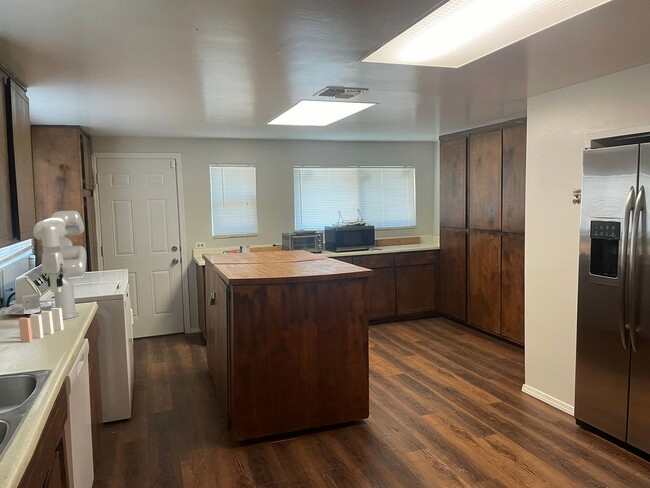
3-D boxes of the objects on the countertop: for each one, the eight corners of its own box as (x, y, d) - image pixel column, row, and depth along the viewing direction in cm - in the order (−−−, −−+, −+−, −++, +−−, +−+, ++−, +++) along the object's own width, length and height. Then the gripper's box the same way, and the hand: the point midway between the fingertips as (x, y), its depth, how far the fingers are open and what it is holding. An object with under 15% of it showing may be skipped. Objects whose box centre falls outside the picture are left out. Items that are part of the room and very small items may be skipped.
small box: (38, 311, 283) (36, 293, 282) (41, 312, 279) (39, 294, 278) (22, 314, 277) (20, 296, 276) (25, 315, 273) (23, 297, 272)
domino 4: (53, 291, 245) (51, 269, 244) (61, 291, 244) (59, 269, 242) (50, 291, 244) (48, 270, 242) (58, 292, 242) (56, 270, 241)
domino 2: (34, 336, 230) (32, 314, 229) (43, 337, 229) (41, 314, 228) (32, 337, 229) (29, 315, 228) (40, 338, 228) (38, 315, 226)
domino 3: (45, 332, 236) (43, 310, 235) (53, 333, 235) (51, 311, 234) (42, 333, 235) (40, 311, 234) (51, 334, 233) (48, 312, 232)
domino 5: (55, 329, 242) (53, 307, 241) (63, 329, 241) (61, 308, 240) (52, 330, 241) (50, 308, 239) (61, 330, 239) (58, 308, 238)
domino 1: (23, 340, 224) (21, 317, 223) (32, 341, 223) (30, 318, 222) (21, 341, 223) (18, 318, 222) (29, 342, 222) (27, 318, 220)
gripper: (32, 251, 240) (36, 287, 242) (59, 251, 235) (63, 288, 237) (44, 249, 247) (48, 284, 249) (71, 249, 242) (75, 285, 244)
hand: (55, 285), depth 243 cm, fingers closed on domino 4, 4 cm apart
